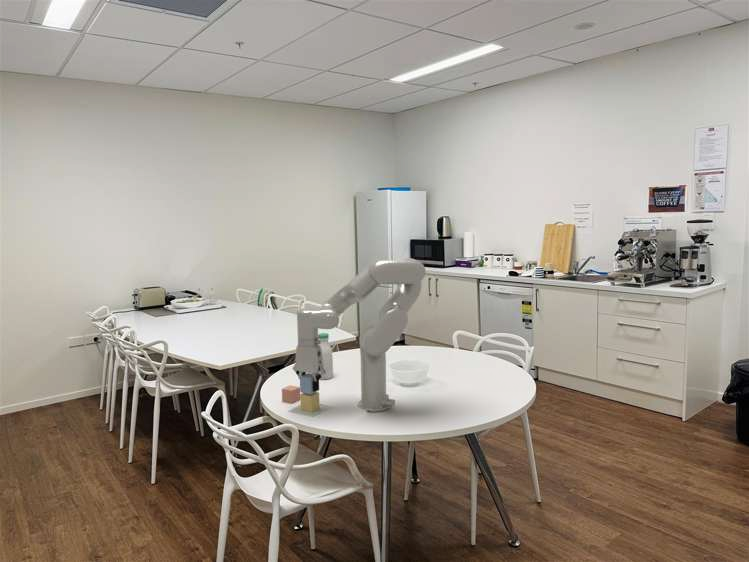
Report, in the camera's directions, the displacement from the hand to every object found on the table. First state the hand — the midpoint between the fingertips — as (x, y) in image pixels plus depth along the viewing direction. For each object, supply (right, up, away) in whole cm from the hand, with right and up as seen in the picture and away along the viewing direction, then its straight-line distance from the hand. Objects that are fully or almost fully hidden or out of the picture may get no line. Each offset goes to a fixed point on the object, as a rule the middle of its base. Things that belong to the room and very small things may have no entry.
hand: (309, 389), depth 204 cm
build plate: (0, -8, +1) cm, 8 cm away
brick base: (0, -8, +1) cm, 8 cm away
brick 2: (0, -1, 0) cm, 1 cm away
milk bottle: (+2, -3, +42) cm, 42 cm away
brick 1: (-8, -7, +10) cm, 15 cm away
